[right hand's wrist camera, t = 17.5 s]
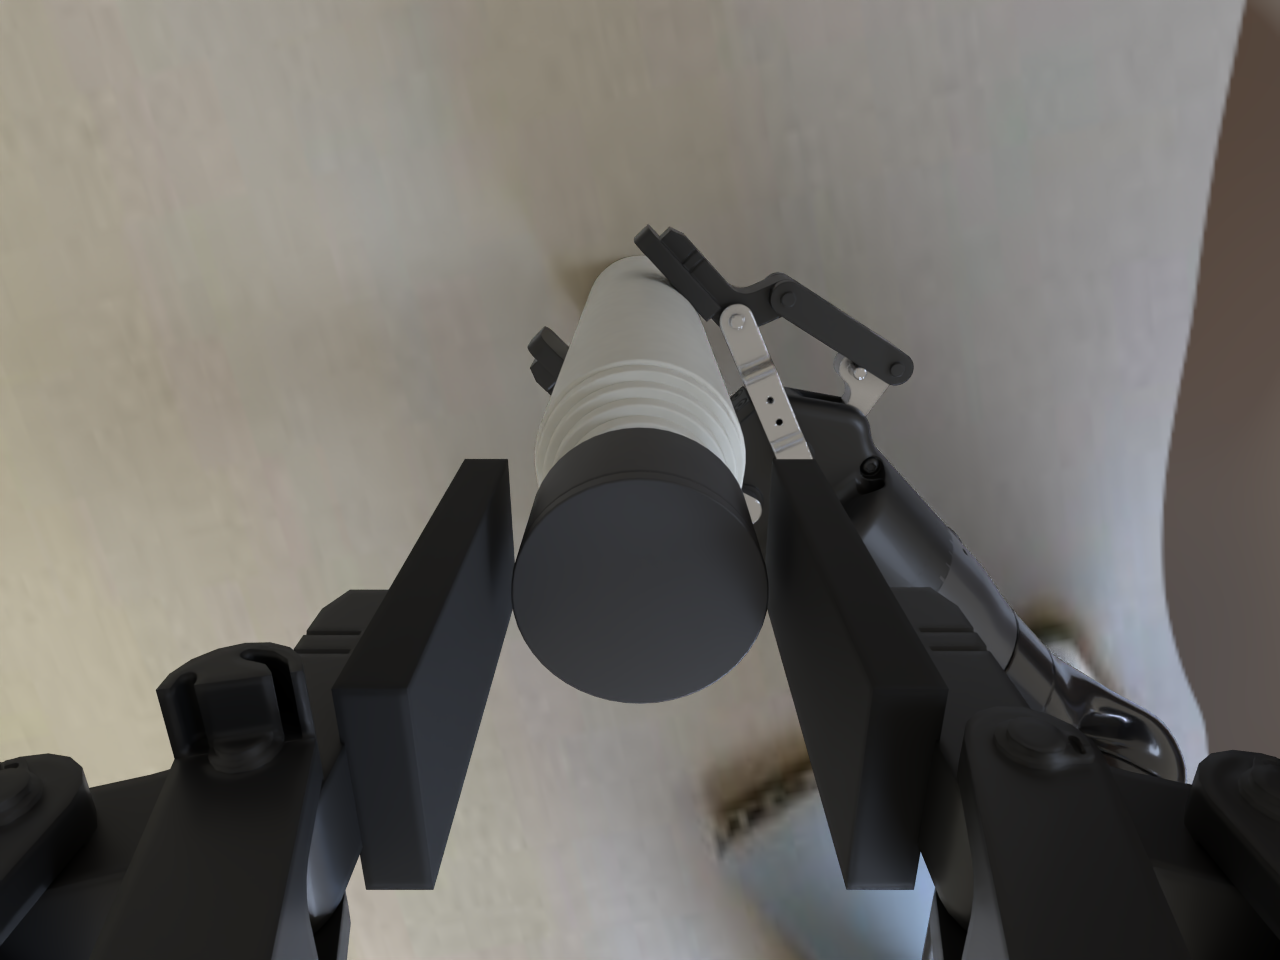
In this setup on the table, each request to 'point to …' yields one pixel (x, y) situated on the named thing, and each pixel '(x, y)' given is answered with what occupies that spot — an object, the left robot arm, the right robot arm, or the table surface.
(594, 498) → the cap
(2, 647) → the table surface
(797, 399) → the left robot arm
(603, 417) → the bottle
